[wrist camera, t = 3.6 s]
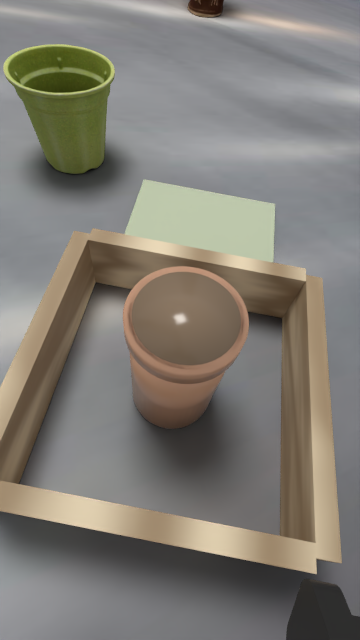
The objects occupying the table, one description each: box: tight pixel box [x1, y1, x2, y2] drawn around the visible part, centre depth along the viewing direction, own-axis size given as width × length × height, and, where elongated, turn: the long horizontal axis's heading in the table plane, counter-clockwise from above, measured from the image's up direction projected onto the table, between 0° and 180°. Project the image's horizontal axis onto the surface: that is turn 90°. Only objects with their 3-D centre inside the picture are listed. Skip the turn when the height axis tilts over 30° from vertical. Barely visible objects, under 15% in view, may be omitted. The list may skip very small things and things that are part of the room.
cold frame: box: [0, 228, 342, 574], centre depth 23 cm, size 18×18×5 cm
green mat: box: [125, 180, 275, 262], centre depth 34 cm, size 14×10×1 cm
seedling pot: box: [123, 266, 249, 429], centre depth 21 cm, size 6×6×10 cm
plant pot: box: [3, 44, 115, 174], centre depth 34 cm, size 9×9×9 cm
